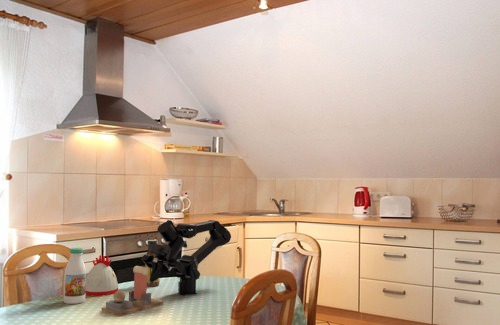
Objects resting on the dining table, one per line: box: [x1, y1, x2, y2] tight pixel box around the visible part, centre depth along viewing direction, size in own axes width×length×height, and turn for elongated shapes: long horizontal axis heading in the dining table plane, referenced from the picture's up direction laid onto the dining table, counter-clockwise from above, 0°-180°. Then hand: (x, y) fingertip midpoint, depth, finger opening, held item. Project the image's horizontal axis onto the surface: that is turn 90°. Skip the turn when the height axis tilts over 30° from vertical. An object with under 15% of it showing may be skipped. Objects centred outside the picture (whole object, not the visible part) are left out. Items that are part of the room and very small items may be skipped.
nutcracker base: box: [101, 289, 164, 317], centre depth 169 cm, size 20×10×5 cm, turn 145°
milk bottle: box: [62, 247, 87, 305], centre depth 176 cm, size 8×8×20 cm
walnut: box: [113, 289, 126, 302], centre depth 164 cm, size 4×4×4 cm
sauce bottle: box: [144, 239, 161, 287], centre depth 206 cm, size 7×6×20 cm
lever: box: [132, 265, 149, 301], centre depth 172 cm, size 3×5×12 cm, turn 55°
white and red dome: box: [85, 254, 119, 297], centre depth 192 cm, size 14×14×15 cm
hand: (150, 281), depth 176 cm, fingers closed
